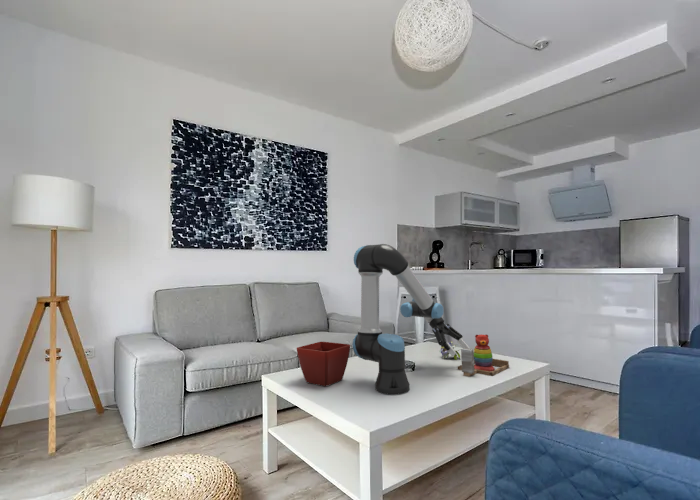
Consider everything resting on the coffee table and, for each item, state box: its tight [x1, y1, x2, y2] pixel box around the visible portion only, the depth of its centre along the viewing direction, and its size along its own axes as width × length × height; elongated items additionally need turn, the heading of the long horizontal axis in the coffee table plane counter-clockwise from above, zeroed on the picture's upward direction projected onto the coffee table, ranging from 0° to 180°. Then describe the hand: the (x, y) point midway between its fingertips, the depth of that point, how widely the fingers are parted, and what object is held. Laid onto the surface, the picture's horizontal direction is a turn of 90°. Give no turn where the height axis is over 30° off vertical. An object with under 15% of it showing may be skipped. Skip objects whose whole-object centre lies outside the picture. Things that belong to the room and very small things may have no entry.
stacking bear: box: [474, 334, 496, 372], centre depth 194 cm, size 11×10×18 cm
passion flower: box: [438, 340, 461, 361], centre depth 218 cm, size 11×11×12 cm
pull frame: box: [456, 348, 510, 377], centre depth 191 cm, size 28×18×12 cm, turn 135°
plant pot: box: [296, 341, 351, 387], centre depth 180 cm, size 19×19×17 cm
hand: (461, 352), depth 187 cm, fingers open, 13 cm apart
